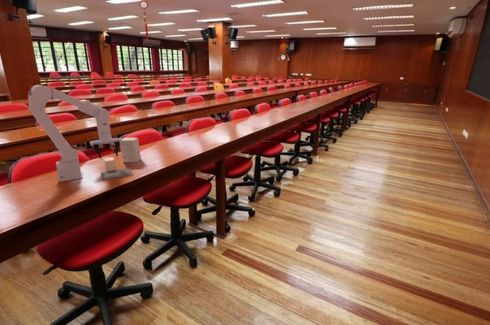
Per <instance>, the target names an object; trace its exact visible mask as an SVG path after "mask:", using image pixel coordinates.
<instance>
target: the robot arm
mask: <svg viewBox="0 0 490 325" xmlns="http://www.w3.org/2000/svg"><path fill="white" fill-rule="evenodd" d="M27 94H28V111H29V112H30V113H31V114H32V115H33V117H34V119H35V120H36V121H37V122H38V123H39V125H40V127H41V128H42V129H43V130H44V132H45V133H46V134H47V136H48V137H49V138H50V140H51V142H52V143H54V146H55V147H56V149H57V153H58V155H59V156H60V157H61V158H60V160H58V161H56V162H55V165H56V171H57V177H58V179H59V182H61V183H62V182H67V181H73V180H79V179H83V176H84V172H82V170H81V166H80V161H79V153H78V151H77V150H76V149H75V148H74V147H72V146H71V145H70V143H69V142H68V141H67V140H66V139H65V137H64V136H63V135H62V133H61V132H60V130H59V128H57V126H56V124H55V123H54V122H53V121H52V119H51V118H50V116H49V114H48V113H47V112H46V111H45V108H46V105H47V103H48V102H49V101H50V100H54V101H55V100H59V101H62V102H64V103H66V104H67V103H68V104H70V105H73V106H75V107H76V108H77V110H78V112H81V113H84V114H86V115H89V116H92V117H94V118H95V123H96V128H97V129H96V130H97V133H98V134H97V135H98V138H99V139H98V140H97V139H96V140H91V141H89V144H90V147H92V148H93V149H94V150H95V152H96V153H97V154H98V157H99V159H103V158H102V154H101V152H100V151H101V150H100V145H106V144H107V145H108V144H114V150H115V157H119V155H118V154H119V148H120V147H121V145H120V142H122V140H121V139H122V138H121V137H116V138H115V137H112V133H111V126H110V125H111V124H110V120H109V118H110V117H111V116H110V114H111V113H109V111H108V109H106V108H103V107H101V105H99V104H94V103H92V102H91V100H89V99H81V100H79V99H78V98H75V97H73V96H71V95H69V94H67V93H64V92H63V91H60V90H58V89H55V88H51V87H48V86H46V85H41V84H36V85H33V86H31V88H30V90H29V92H28V93H27Z"/></svg>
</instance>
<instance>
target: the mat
mask: <svg viewBox="0 0 490 325" xmlns="http://www.w3.org/2000/svg"><path fill="white" fill-rule="evenodd" d="M100 176H101V181H107V180H108V181H109V180H112V179H119V177H120V178H125V177H130V176H134V173H133V171H132V169H131V167H125V168H120V169H116V170H111V171H106V170H105V171H100Z"/></svg>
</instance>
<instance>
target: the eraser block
mask: <svg viewBox="0 0 490 325" xmlns="http://www.w3.org/2000/svg"><path fill="white" fill-rule="evenodd" d="M103 160H104V166H105V172H106V171H112V170H117V168H116V162H115V158H114V156H110V157H104V158H103Z"/></svg>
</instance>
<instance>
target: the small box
mask: <svg viewBox="0 0 490 325" xmlns="http://www.w3.org/2000/svg"><path fill="white" fill-rule="evenodd" d="M121 140H122V142H120V150H121V156H122V157H121V158H122V163H138V162H139V161H140V160H142V157H141V156H142V155H141V150H140V144H139V138H138V137H124V138H121Z"/></svg>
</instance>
